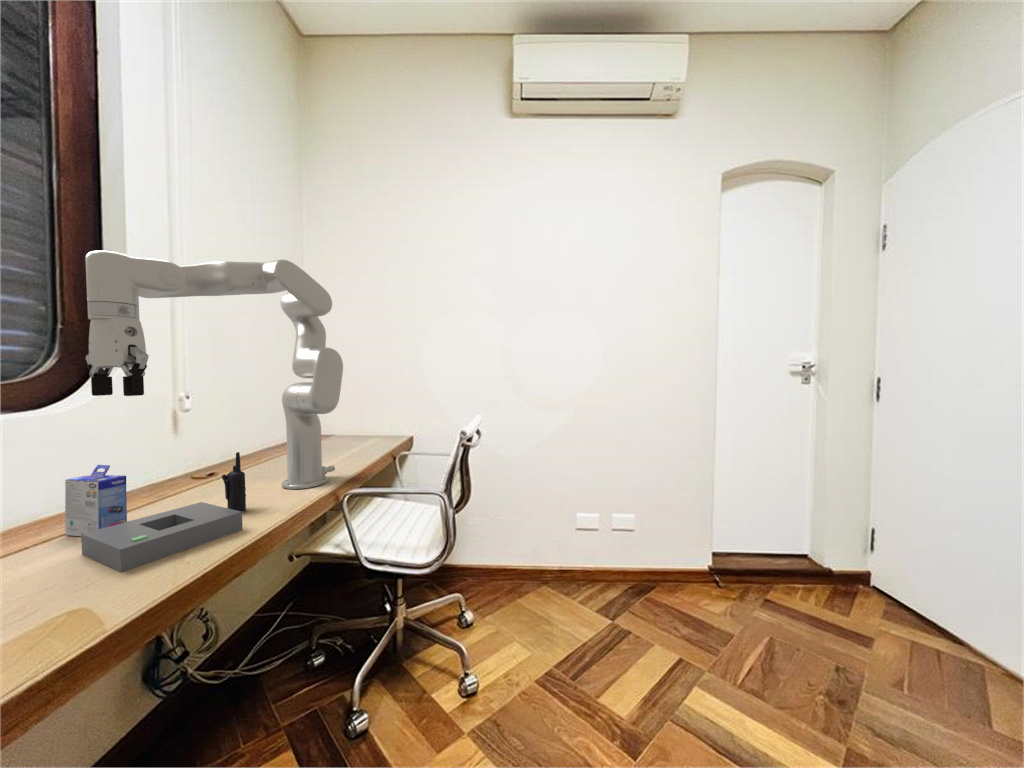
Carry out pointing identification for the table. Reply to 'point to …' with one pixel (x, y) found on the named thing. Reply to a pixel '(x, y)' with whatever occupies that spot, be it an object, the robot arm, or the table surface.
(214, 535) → the charging cradle
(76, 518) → the ink cartridge box
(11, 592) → the table surface
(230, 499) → the two-way radio
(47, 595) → the table surface
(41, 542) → the table surface
